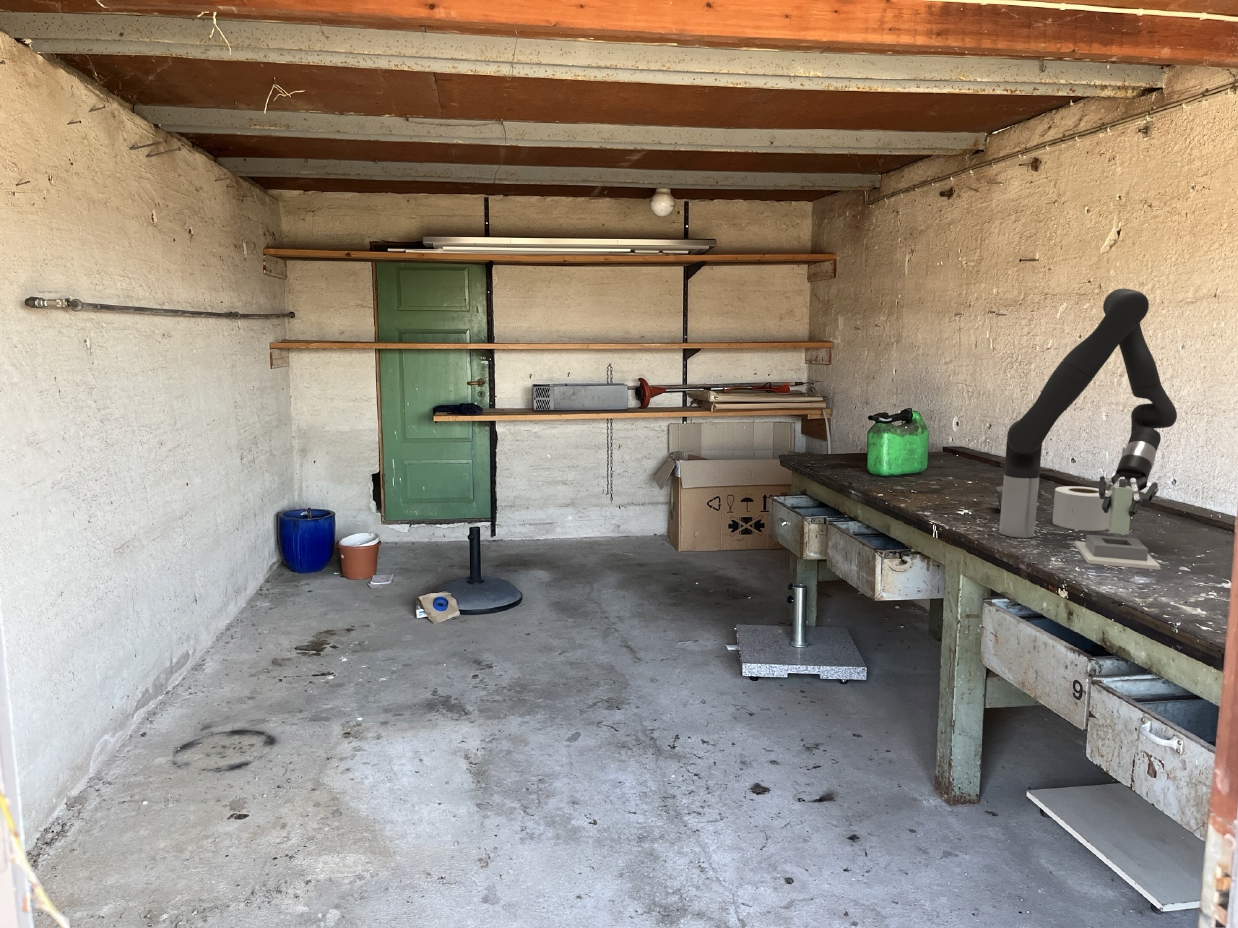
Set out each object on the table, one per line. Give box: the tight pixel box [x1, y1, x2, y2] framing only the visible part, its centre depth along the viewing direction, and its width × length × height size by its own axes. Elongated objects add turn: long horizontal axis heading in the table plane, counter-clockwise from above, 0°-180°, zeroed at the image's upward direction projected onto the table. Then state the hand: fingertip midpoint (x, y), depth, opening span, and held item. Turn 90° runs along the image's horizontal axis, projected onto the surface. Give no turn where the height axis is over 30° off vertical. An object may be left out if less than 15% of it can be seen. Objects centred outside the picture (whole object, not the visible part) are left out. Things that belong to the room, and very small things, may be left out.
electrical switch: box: [995, 485, 1003, 510], centre depth 279 cm, size 9×5×9 cm, turn 162°
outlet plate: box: [1073, 534, 1161, 571], centre depth 226 cm, size 20×16×4 cm
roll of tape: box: [1052, 485, 1110, 532], centre depth 261 cm, size 16×15×11 cm
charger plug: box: [1107, 479, 1133, 535], centre depth 224 cm, size 4×4×14 cm
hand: (1117, 512), depth 223 cm, fingers closed on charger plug, 5 cm apart
